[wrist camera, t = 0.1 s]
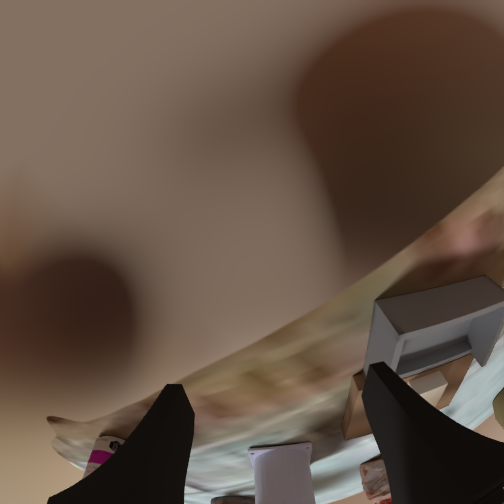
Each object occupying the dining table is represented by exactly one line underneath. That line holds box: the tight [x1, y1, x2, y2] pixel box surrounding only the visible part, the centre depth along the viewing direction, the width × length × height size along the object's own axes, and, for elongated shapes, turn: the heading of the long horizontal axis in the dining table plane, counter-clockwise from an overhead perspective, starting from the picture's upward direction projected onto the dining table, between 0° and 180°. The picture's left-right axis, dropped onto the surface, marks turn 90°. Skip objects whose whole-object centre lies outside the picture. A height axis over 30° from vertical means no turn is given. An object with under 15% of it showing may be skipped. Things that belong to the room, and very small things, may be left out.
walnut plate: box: [341, 353, 474, 440], centre depth 24 cm, size 10×15×2 cm, turn 96°
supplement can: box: [82, 436, 125, 479], centre depth 22 cm, size 8×8×15 cm
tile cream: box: [408, 371, 448, 407], centre depth 21 cm, size 4×4×2 cm
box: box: [363, 275, 504, 379], centre depth 19 cm, size 8×13×4 cm, turn 97°
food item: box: [360, 456, 392, 504], centre depth 29 cm, size 14×8×10 cm, turn 32°
